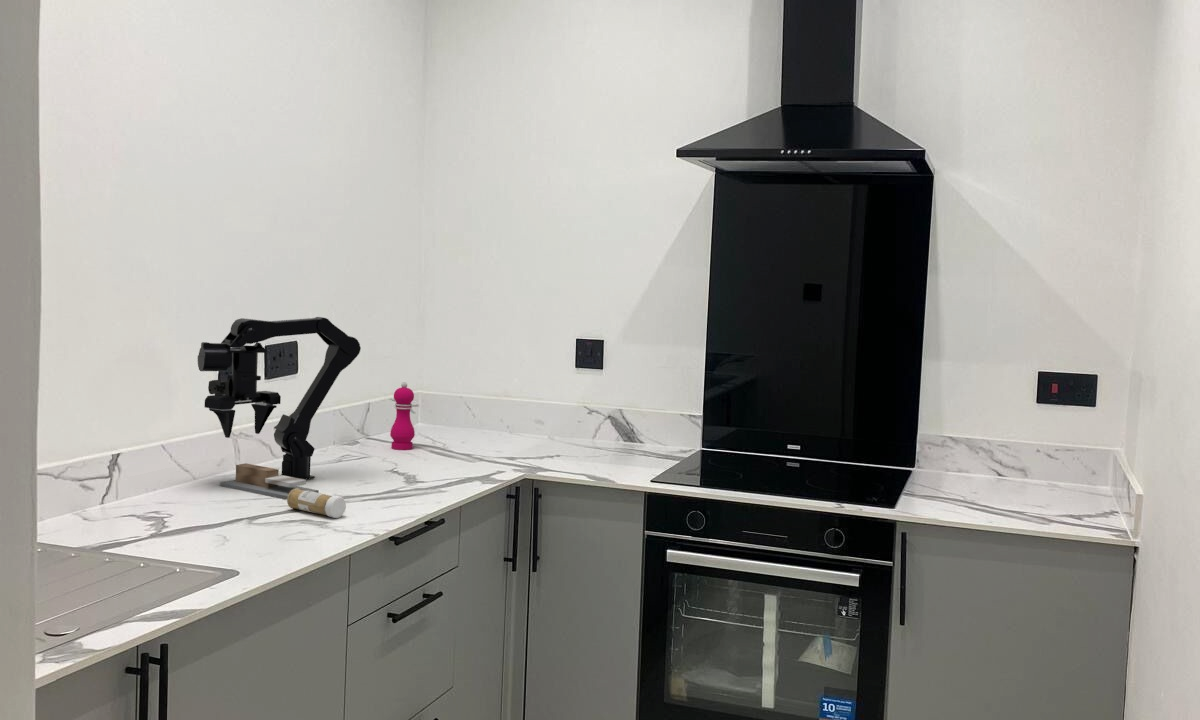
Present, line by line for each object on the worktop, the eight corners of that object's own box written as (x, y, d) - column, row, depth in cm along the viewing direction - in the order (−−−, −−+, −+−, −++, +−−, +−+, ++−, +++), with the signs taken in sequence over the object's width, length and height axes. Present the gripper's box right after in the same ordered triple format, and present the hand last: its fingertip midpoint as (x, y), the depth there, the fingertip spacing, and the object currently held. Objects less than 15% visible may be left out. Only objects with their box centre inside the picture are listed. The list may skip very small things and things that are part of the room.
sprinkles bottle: (286, 511, 215) (332, 521, 209) (285, 491, 214) (330, 500, 208) (302, 504, 219) (347, 514, 212) (301, 485, 218) (346, 494, 212)
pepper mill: (388, 446, 300) (390, 380, 298) (412, 446, 302) (415, 381, 300) (390, 450, 293) (393, 383, 291) (415, 450, 295) (418, 383, 293)
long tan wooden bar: (232, 482, 236) (232, 465, 236) (248, 479, 240) (249, 462, 240) (289, 493, 227) (290, 476, 226) (306, 490, 231) (306, 473, 231)
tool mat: (249, 479, 243) (249, 476, 243) (318, 493, 232) (318, 490, 232) (219, 485, 235) (219, 482, 235) (289, 500, 224) (289, 496, 224)
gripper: (250, 366, 249) (248, 427, 250) (189, 370, 232) (187, 435, 233) (283, 370, 244) (281, 433, 245) (222, 374, 227) (220, 441, 228)
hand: (242, 435), depth 238 cm, fingers open, 9 cm apart
